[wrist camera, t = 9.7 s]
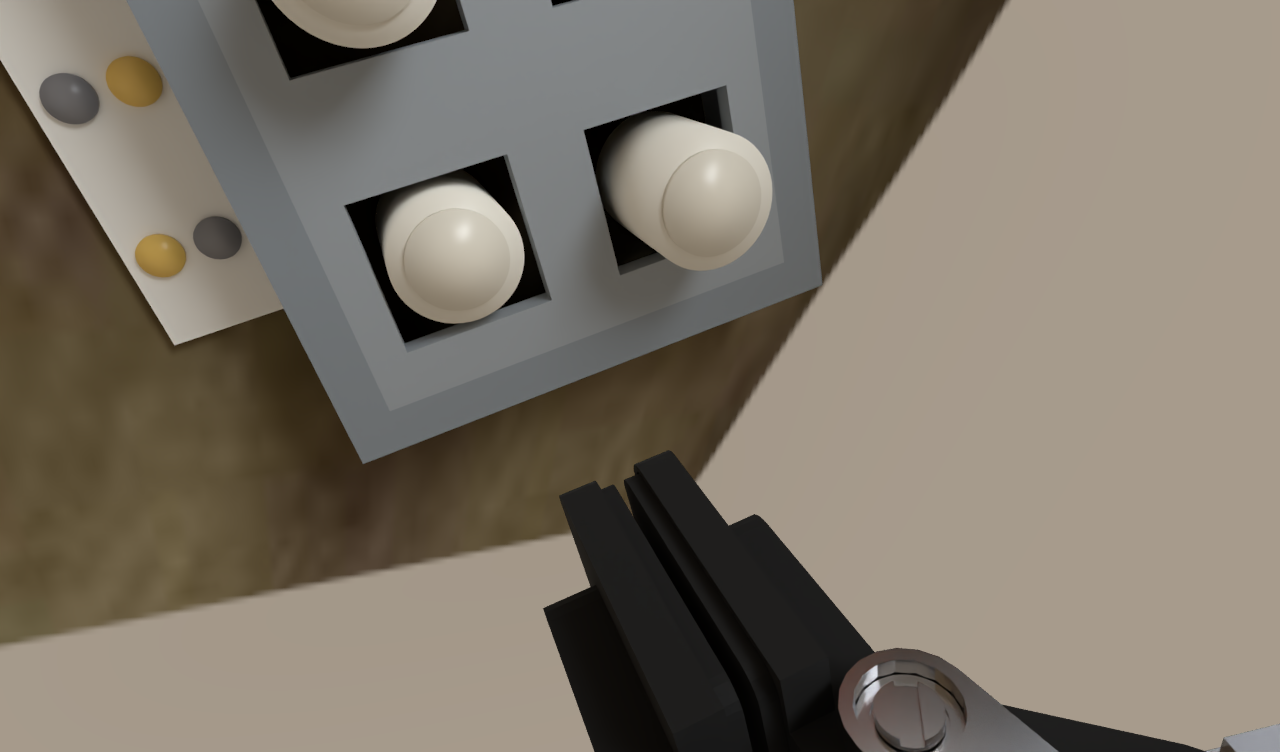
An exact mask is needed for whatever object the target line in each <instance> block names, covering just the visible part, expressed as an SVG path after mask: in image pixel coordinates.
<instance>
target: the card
mask: <svg viewBox="0 0 1280 752" xmlns="http://www.w3.org/2000/svg"><path fill="white" fill-rule="evenodd" d="M0 60H1V62H2V64H3V65H4V67H5V68H6V70H7V72H8V73H9V75H10V77H11V78H12V80H13V82H14V83H15V85H16V86H17V88H18V90H19V91H20V93H21V95H22V96H23V98H24V100H25V101H26V103H27V104H28V106H29V108H30V109H31V111H32V113H33V114H34V116H35V118H36V119H37V121H38V122H39V124H40V126H41V127H42V129H43V131H44V132H45V134H46V136H47V137H48V139H49V141H50V142H51V144H52V145H53V147H54V149H55V150H56V152H57V154H58V155H59V157H60V159H61V160H62V162H63V163H64V165H65V167H66V168H67V170H68V172H69V173H70V175H71V177H72V178H73V180H74V181H75V183H76V185H77V186H78V188H79V190H80V191H81V193H82V195H83V196H84V198H85V199H86V201H87V203H88V204H89V206H90V208H91V209H92V211H93V213H94V214H95V216H96V217H97V219H98V221H99V222H100V224H101V226H102V227H103V229H104V231H105V232H106V234H107V236H108V237H109V239H110V240H111V242H112V244H113V245H114V247H115V249H116V250H117V252H118V254H119V255H120V257H121V258H122V260H123V262H124V263H125V265H126V267H127V268H128V270H129V272H130V273H131V275H132V276H133V278H134V280H135V281H136V283H137V285H138V286H139V288H140V290H141V291H142V293H143V294H144V296H145V298H146V299H147V301H148V303H149V304H150V306H151V308H152V309H153V311H154V313H155V314H156V316H157V317H158V319H159V321H160V322H161V324H162V326H163V327H164V329H165V331H166V332H167V334H168V335H169V337H170V339H171V340H172V342H173V344H174V345H177V344H180V343H183V342H186V341H189V340H192V339H195V338H198V337H201V336H204V335H207V334H210V333H213V332H216V331H219V330H222V329H225V328H228V327H231V326H234V325H236V324H239V323H242V322H245V321H248V320H251V319H254V318H257V317H260V316H263V315H266V314H269V313H272V312H275V311H278V310H281V309H284V308H283V306H282V304H281V302H280V300H279V298H278V296H277V294H276V293H275V291H274V289H273V287H272V285H271V283H270V281H269V279H268V277H267V275H266V273H265V271H264V269H263V267H262V265H261V263H260V261H259V259H258V257H257V255H256V253H255V251H254V249H253V247H252V246H251V244H250V242H249V240H248V238H247V236H246V234H245V232H244V230H243V228H242V226H241V224H240V222H239V220H238V218H237V216H236V214H235V212H234V210H233V208H232V206H231V204H230V202H229V201H228V199H227V197H226V195H225V193H224V191H223V189H222V187H221V185H220V183H219V181H218V179H217V177H216V175H215V173H214V171H213V169H212V167H211V165H210V163H209V161H208V159H207V157H206V156H205V154H204V152H203V150H202V148H201V146H200V144H199V142H198V140H197V138H196V136H195V134H194V132H193V130H192V128H191V126H190V124H189V122H188V120H187V118H186V116H185V114H184V112H183V111H182V109H181V107H180V105H179V103H178V101H177V99H176V97H175V95H174V93H173V91H172V89H171V87H170V85H169V83H168V81H167V79H166V77H165V75H164V73H163V71H162V69H161V67H160V65H159V64H158V62H157V60H156V58H155V56H154V54H153V52H152V50H151V48H150V46H149V44H148V42H147V40H146V38H145V36H144V34H143V32H142V30H141V28H140V26H139V24H138V22H137V20H136V19H135V17H134V15H133V13H132V11H131V9H130V7H129V5H128V3H127V1H126V0H0Z"/></svg>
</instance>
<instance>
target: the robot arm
mask: <svg viewBox="0 0 1280 752" xmlns="http://www.w3.org/2000/svg"><path fill="white" fill-rule="evenodd" d="M634 472H635V476H632V477H630V478H628V479H625V480H624V485H625V489H626V492H627V496H628V499H629V502H630V506H631V509H632V513H633V516H634V517H633V516H632V514H631V512H630V511H629V509H628V507H627V505H626V504H625V502H624V500H623V499H622V497H621V495H620V494H619V492H618V490H617V489H616V487H615V486H614V485H611V486H608V487H606V488H604V489H601V488H600V487H599V485H598V483H597V482H596V481H593V482H591V483H589V484H586V485H584V486H581V487H579V488H577V489H574V490H572V491H569V492H567V493H564V494H562V495H560V496H559V497H560V501H561V504H562V507H563V510H564V512H565V515H566V518H567V521H568V524H569V527H570V529H571V532H572V535H573V538H574V541H575V544H576V546H577V549H578V552H579V555H580V558H581V561H582V563H583V566H584V568H585V572H586V575H587V578H588V580H589V583H590V586H591V587H590V588H588V589H586V590H583V591H581V592H579V593H577V594H574V595H572V596H570V597H567V598H565V599H563V600H561V601H558V602H556V603H554V604H552V605H549V606H547V607H545V608H543V609H544V612H545V615H546V618H547V621H548V624H549V627H550V629H551V632H552V635H553V638H554V640H555V643H556V646H557V649H558V651H559V654H560V657H561V660H562V663H563V665H564V668H565V671H566V674H567V677H568V679H569V682H570V685H571V688H572V690H573V693H574V696H575V698H576V701H577V704H578V707H579V710H580V713H581V715H582V718H583V721H584V724H585V726H586V729H587V732H588V735H589V737H590V740H591V743H592V746H593V749H594V752H1280V724H1277V725H1273V726H1269V727H1265V728H1261V729H1257V730H1252V731H1248V732H1244V733H1240V734H1236V735H1233V736H1229V737H1224V738H1223V741H1222V745H1221V747H1219V748H1215V749H1211V750H1207V751H1202V750H1200V749H1197V748H1194V747H1190V746H1188V745H1184V744H1179V743H1175V742H1170V741H1166V740H1161V739H1157V738H1152V737H1147V736H1143V735H1138V734H1134V733H1129V732H1124V731H1120V730H1115V729H1111V728H1106V727H1102V726H1097V725H1092V724H1088V723H1083V722H1079V721H1074V720H1070V719H1065V718H1060V717H1056V716H1051V715H1047V714H1042V713H1038V712H1033V711H1028V710H1023V709H1019V708H1015V707H1010V706H1006V705H1001V704H1000V703H999V702H998V701H996V700H995V699H994V698H993V697H992V696H990V695H989V694H988V693H987V692H986V691H984V690H983V689H982V688H981V687H979V686H978V685H977V684H976V683H975V682H973V681H972V680H971V679H970V678H969V677H967V676H966V675H965V674H964V673H963V672H961V671H960V670H959V669H958V668H956V667H954V666H953V665H951V664H950V663H948V662H947V661H945V660H943V659H942V658H940V657H938V656H935V655H932V654H929V653H926V652H923V651H920V650H915V649H902V648H894V649H889V650H883V651H877V652H874V651H873V650H872V649H871V647H870V646H869V645H868V644H867V643H866V641H865V640H864V639H863V638H862V637H861V635H860V634H859V633H858V632H857V631H856V629H855V628H854V627H853V626H852V625H851V623H850V622H849V621H848V620H847V619H846V618H845V616H844V615H843V614H842V613H841V612H840V610H839V609H838V608H837V607H836V606H835V604H834V603H833V602H832V601H831V600H830V598H829V597H828V596H827V595H826V594H825V592H824V591H823V590H822V589H821V588H820V587H819V585H818V584H817V583H816V582H815V580H814V579H813V578H812V577H811V576H810V574H809V573H808V572H807V571H806V570H805V568H804V567H803V566H802V565H801V564H800V563H799V561H798V560H797V559H796V558H795V557H794V555H793V554H792V553H791V552H790V551H789V549H788V548H787V547H786V546H785V545H784V544H783V542H782V541H781V540H780V539H779V537H778V536H777V535H776V534H775V533H774V532H773V530H772V529H771V528H770V527H769V525H768V524H767V523H766V522H765V521H764V520H763V519H762V518H761V517H760V516H758V515H755V514H754V515H752V516H750V517H747V518H745V519H743V520H741V521H738V522H736V523H734V524H732V525H729V526H728V524H727V523H726V522H725V520H724V519H723V518H722V516H721V515H720V514H719V513H718V511H717V510H716V509H715V507H714V506H713V505H712V504H711V502H710V501H709V499H708V498H707V497H706V496H705V494H704V493H703V492H702V490H701V489H700V488H699V486H698V485H697V484H696V482H695V481H694V480H693V478H692V477H691V476H690V474H689V473H688V472H687V471H686V469H685V468H684V467H683V465H682V464H681V463H680V461H679V460H678V459H677V457H676V456H675V455H674V454H673V453H672V452H671V451H669V450H668V451H666V452H663V453H661V454H659V455H656V456H654V457H651V458H649V459H646V460H644V461H642V462H639V463H637V464H635V465H634Z"/></svg>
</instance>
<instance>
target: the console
mask: <svg viewBox="0 0 1280 752" xmlns="http://www.w3.org/2000/svg"><path fill="white" fill-rule="evenodd" d="M126 1H127V3H128V5H129V7H130V9H131V11H132V13H133V15H134V17H135V19H136V20H137V22H138V24H139V26H140V28H141V30H142V32H143V34H144V36H145V38H146V40H147V42H148V44H149V46H150V48H151V50H152V52H153V54H154V56H155V58H156V60H157V62H158V64H159V65H160V67H161V69H162V71H163V73H164V75H165V77H166V79H167V81H168V83H169V85H170V87H171V89H172V91H173V93H174V95H175V97H176V99H177V101H178V103H179V105H180V107H181V109H182V111H183V112H184V114H185V116H186V118H187V120H188V122H189V124H190V126H191V128H192V130H193V132H194V134H195V136H196V138H197V140H198V142H199V144H200V146H201V148H202V150H203V152H204V154H205V156H206V157H207V159H208V161H209V163H210V165H211V167H212V169H213V171H214V173H215V175H216V177H217V179H218V181H219V183H220V185H221V187H222V189H223V191H224V193H225V195H226V197H227V199H228V201H229V202H230V204H231V206H232V208H233V210H234V212H235V214H236V216H237V218H238V220H239V222H240V224H241V226H242V228H243V230H244V232H245V234H246V236H247V238H248V240H249V242H250V244H251V246H252V247H253V249H254V251H255V253H256V255H257V257H258V259H259V261H260V263H261V265H262V267H263V269H264V271H265V273H266V275H267V277H268V279H269V281H270V283H271V285H272V287H273V289H274V291H275V293H276V294H277V296H278V298H279V300H280V302H281V304H282V306H283V308H284V310H285V312H286V314H287V316H288V318H289V320H290V322H291V324H292V326H293V328H294V330H295V332H296V334H297V336H298V338H299V339H300V341H301V343H302V345H303V347H304V349H305V351H306V353H307V355H308V357H309V359H310V361H311V363H312V365H313V367H314V369H315V371H316V373H317V375H318V377H319V379H320V381H321V383H322V384H323V386H324V388H325V390H326V392H327V394H328V396H329V398H330V400H331V402H332V404H333V406H334V408H335V410H336V412H337V414H338V416H339V418H340V420H341V422H342V424H343V426H344V428H345V430H346V431H347V433H348V435H349V437H350V439H351V441H352V443H353V445H354V447H355V449H356V451H357V453H358V455H359V457H360V459H361V461H362V463H363V464H365V463H367V462H370V461H372V460H375V459H377V458H380V457H383V456H385V455H388V454H390V453H393V452H395V451H398V450H400V449H403V448H406V447H408V446H411V445H413V444H416V443H418V442H421V441H424V440H426V439H429V438H431V437H434V436H436V435H439V434H442V433H444V432H447V431H449V430H452V429H454V428H457V427H459V426H462V425H465V424H467V423H470V422H472V421H475V420H477V419H480V418H483V417H485V416H488V415H490V414H493V413H495V412H498V411H501V410H503V409H506V408H508V407H511V406H513V405H516V404H518V403H521V402H524V401H526V400H529V399H531V398H534V397H536V396H539V395H542V394H544V393H547V392H549V391H552V390H554V389H557V388H560V387H562V386H565V385H567V384H570V383H572V382H575V381H577V380H580V379H583V378H585V377H588V376H590V375H593V374H595V373H598V372H601V371H603V370H606V369H608V368H611V367H613V366H616V365H619V364H621V363H624V362H626V361H629V360H631V359H634V358H636V357H639V356H642V355H644V354H647V353H649V352H652V351H654V350H657V349H660V348H662V347H665V346H667V345H670V344H672V343H675V342H678V341H680V340H683V339H685V338H688V337H690V336H693V335H695V334H698V333H701V332H703V331H706V330H708V329H711V328H713V327H716V326H719V325H721V324H724V323H726V322H729V321H731V320H734V319H737V318H739V317H742V316H744V315H747V314H749V313H752V312H754V311H757V310H760V309H762V308H765V307H767V306H770V305H772V304H775V303H778V302H780V301H783V300H785V299H788V298H790V297H793V296H796V295H798V294H801V293H803V292H806V291H808V290H811V289H813V288H816V287H819V286H821V285H822V276H821V266H820V257H819V247H818V237H817V227H816V217H815V208H814V198H813V188H812V178H811V168H810V158H809V149H808V139H807V129H806V119H805V109H804V100H803V90H802V80H801V70H800V60H799V51H798V41H797V31H796V21H795V11H794V1H793V0H572V1H568V2H565V3H561V4H558V5H554V6H552V2H551V0H456V3H457V6H458V10H459V13H460V16H461V19H462V23H463V26H464V29H465V30H463V31H459V32H456V33H452V34H448V35H445V36H441V37H438V38H434V39H430V40H427V41H423V42H419V43H416V44H412V45H409V46H405V47H401V48H398V49H394V50H390V51H387V52H383V53H379V54H376V55H372V56H369V57H365V58H361V59H358V60H354V61H350V62H347V63H343V64H339V65H336V66H332V67H329V68H325V69H321V70H318V71H314V72H310V73H307V74H303V75H299V76H296V77H292V78H290V76H289V74H288V71H287V69H286V67H285V64H284V62H283V60H282V57H281V55H280V53H279V50H278V48H277V46H276V44H275V41H274V39H273V37H272V34H271V32H270V30H269V27H268V25H267V23H266V20H265V18H264V16H263V13H262V11H261V9H260V6H259V4H258V2H257V0H126ZM700 93H701V97H702V103H703V109H704V115H705V121H706V124H707V125H710V126H713V127H716V128H719V129H722V130H725V131H728V132H731V133H734V134H737V135H740V136H742V137H743V138H745V139H747V140H748V141H749V142H751V143H752V144H753V145H754V146H755V147H756V148H757V149H758V150H759V151H760V153H761V154H762V156H763V157H764V159H765V161H766V163H767V165H768V168H769V171H770V175H771V180H772V203H771V209H770V213H769V216H768V219H767V222H766V224H765V226H764V228H763V230H762V232H761V234H760V235H759V237H758V238H757V240H756V241H755V243H754V244H753V245H752V246H751V247H750V248H749V249H748V250H747V251H746V252H745V253H744V254H743V255H742V256H740V257H739V258H738V259H736V260H735V261H733V262H731V263H730V264H727V265H725V266H723V267H720V268H717V269H713V270H707V271H696V270H689V269H686V268H682V267H680V266H678V265H676V264H674V263H672V262H671V261H669V260H668V259H667V258H665V257H664V256H663V255H661V254H660V253H658V252H657V253H654V254H651V255H648V256H645V257H643V258H640V259H637V260H634V261H632V262H629V263H626V264H623V265H620V266H617V262H616V258H615V254H614V250H613V246H612V242H611V238H610V234H609V230H608V226H607V222H606V218H605V214H604V210H603V206H602V202H601V198H600V194H599V190H598V186H597V182H596V178H595V174H594V170H593V166H592V162H591V158H590V154H589V150H588V146H587V142H586V138H585V134H584V130H585V129H589V128H592V127H595V126H598V125H601V124H604V123H608V122H611V121H614V120H617V119H620V118H623V117H627V116H630V115H633V114H636V113H639V112H642V111H646V110H649V109H652V108H655V107H658V106H662V105H665V104H668V103H671V102H674V101H677V100H681V99H684V98H687V97H690V96H693V95H696V94H700ZM503 155H504V159H505V162H506V165H507V168H508V172H509V175H510V178H511V181H512V184H513V188H514V191H515V194H516V197H517V201H518V204H519V207H520V210H521V214H522V217H523V220H524V223H525V227H526V230H527V233H528V236H529V239H530V243H531V246H532V249H533V252H534V256H535V259H536V262H537V265H538V269H539V272H540V275H541V278H542V282H543V285H544V288H545V291H546V292H545V293H543V294H540V295H537V296H534V297H532V298H529V299H526V300H523V301H520V302H518V303H515V304H512V305H509V306H507V307H504V308H501V309H498V310H496V311H495V312H493V313H491V314H489V315H488V316H486V317H483V318H481V319H478V320H475V321H472V322H466V323H459V324H457V325H454V326H451V327H448V328H445V329H443V330H440V331H437V332H434V333H432V334H429V335H426V336H423V337H420V338H418V339H415V340H412V341H409V342H406V343H404V341H403V338H402V336H401V334H400V331H399V329H398V327H397V324H396V322H395V320H394V317H393V315H392V313H391V310H390V308H389V306H388V303H387V301H386V299H385V297H384V294H383V292H382V290H381V287H380V285H379V283H378V280H377V278H376V276H375V273H374V271H373V269H372V266H371V264H370V262H369V259H368V257H367V255H366V252H365V250H364V248H363V245H362V243H361V241H360V239H359V236H358V234H357V232H356V229H355V227H354V225H353V222H352V220H351V218H350V215H349V213H348V211H347V208H346V206H345V205H347V204H350V203H354V202H357V201H360V200H363V199H366V198H370V197H373V196H376V195H379V194H382V193H385V192H389V191H392V190H395V189H398V188H401V187H404V186H408V185H411V184H414V183H417V182H420V181H423V180H427V179H430V178H433V177H436V176H439V175H443V174H446V173H449V172H452V171H455V170H458V169H462V168H465V167H468V166H471V165H474V164H477V163H481V162H484V161H487V160H490V159H493V158H496V157H500V156H503Z"/></svg>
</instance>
